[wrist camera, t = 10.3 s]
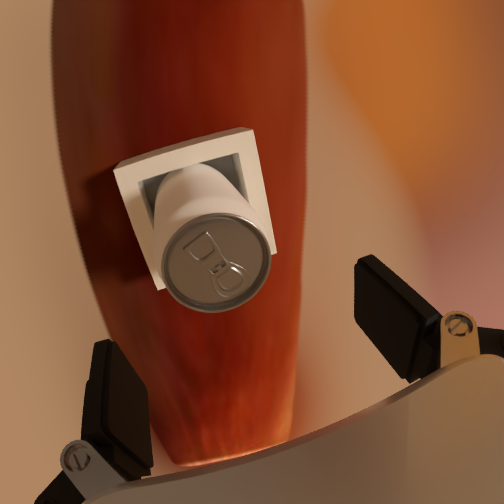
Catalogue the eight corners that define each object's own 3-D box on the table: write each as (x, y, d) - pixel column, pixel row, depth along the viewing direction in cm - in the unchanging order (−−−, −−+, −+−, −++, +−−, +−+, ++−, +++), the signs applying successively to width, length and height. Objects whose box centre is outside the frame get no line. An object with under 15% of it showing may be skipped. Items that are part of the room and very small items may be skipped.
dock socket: (120, 161, 23) (113, 170, 20) (240, 126, 25) (252, 129, 22) (157, 268, 28) (157, 290, 25) (263, 235, 30) (276, 252, 27)
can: (187, 249, 28) (207, 338, 17) (139, 195, 25) (125, 262, 14) (245, 204, 27) (300, 270, 17) (201, 146, 24) (232, 176, 14)
